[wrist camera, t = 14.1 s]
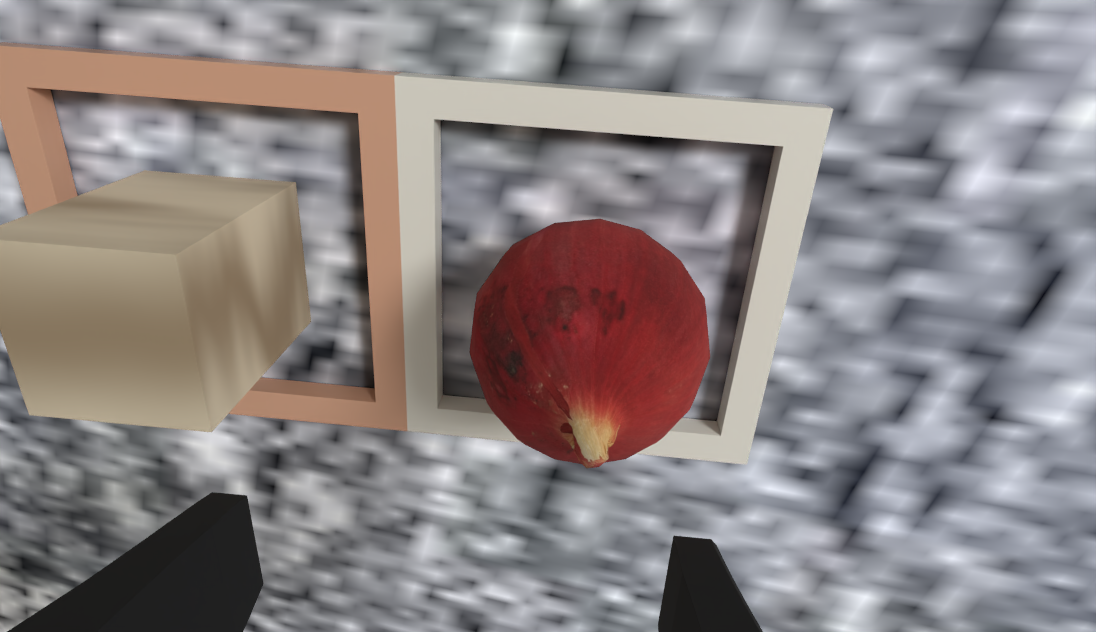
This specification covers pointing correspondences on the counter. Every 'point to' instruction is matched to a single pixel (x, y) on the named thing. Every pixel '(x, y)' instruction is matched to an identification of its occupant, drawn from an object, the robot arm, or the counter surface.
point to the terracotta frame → (41, 159)
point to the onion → (589, 341)
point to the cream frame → (608, 111)
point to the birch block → (153, 298)
